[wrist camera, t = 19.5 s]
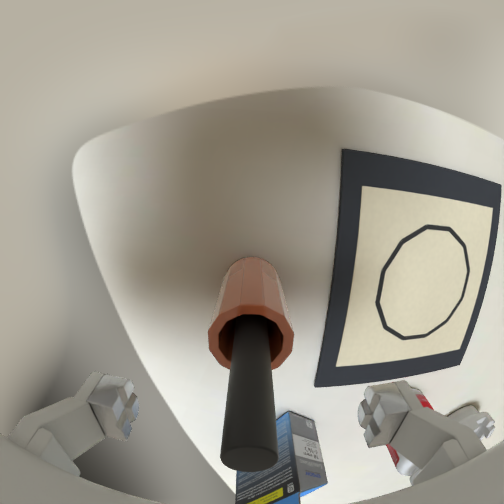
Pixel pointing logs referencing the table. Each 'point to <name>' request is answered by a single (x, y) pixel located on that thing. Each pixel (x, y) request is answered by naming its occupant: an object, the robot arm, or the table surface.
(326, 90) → the table surface
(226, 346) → the pen cup
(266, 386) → the marker
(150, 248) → the table surface
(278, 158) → the table surface
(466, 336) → the desk mat
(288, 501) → the blue retail box
